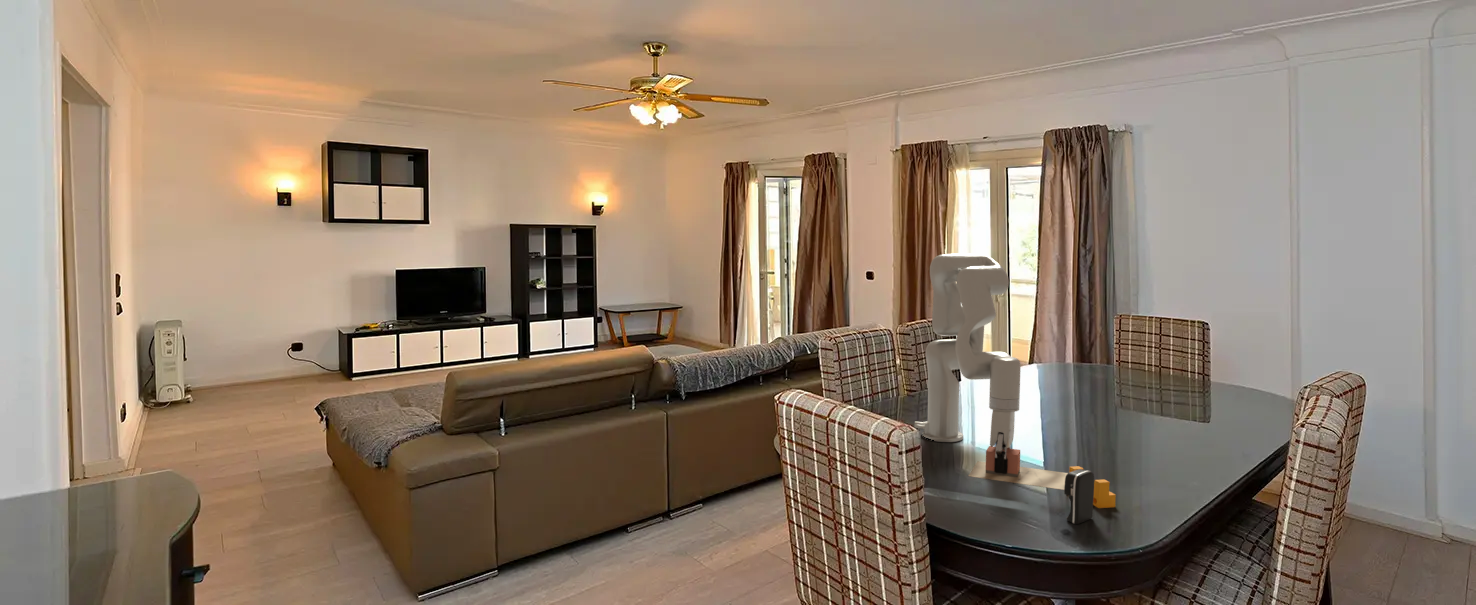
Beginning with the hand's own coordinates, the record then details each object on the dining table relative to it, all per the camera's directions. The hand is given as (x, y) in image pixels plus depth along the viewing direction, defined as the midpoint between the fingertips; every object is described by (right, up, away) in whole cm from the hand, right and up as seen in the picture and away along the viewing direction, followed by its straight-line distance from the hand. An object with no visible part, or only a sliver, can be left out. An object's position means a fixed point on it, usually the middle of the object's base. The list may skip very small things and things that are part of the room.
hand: (1002, 469), depth 195 cm
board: (+4, -3, -2) cm, 5 cm away
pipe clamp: (+16, -4, -15) cm, 23 cm away
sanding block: (0, -1, 0) cm, 1 cm away
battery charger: (+7, -5, -28) cm, 30 cm away
